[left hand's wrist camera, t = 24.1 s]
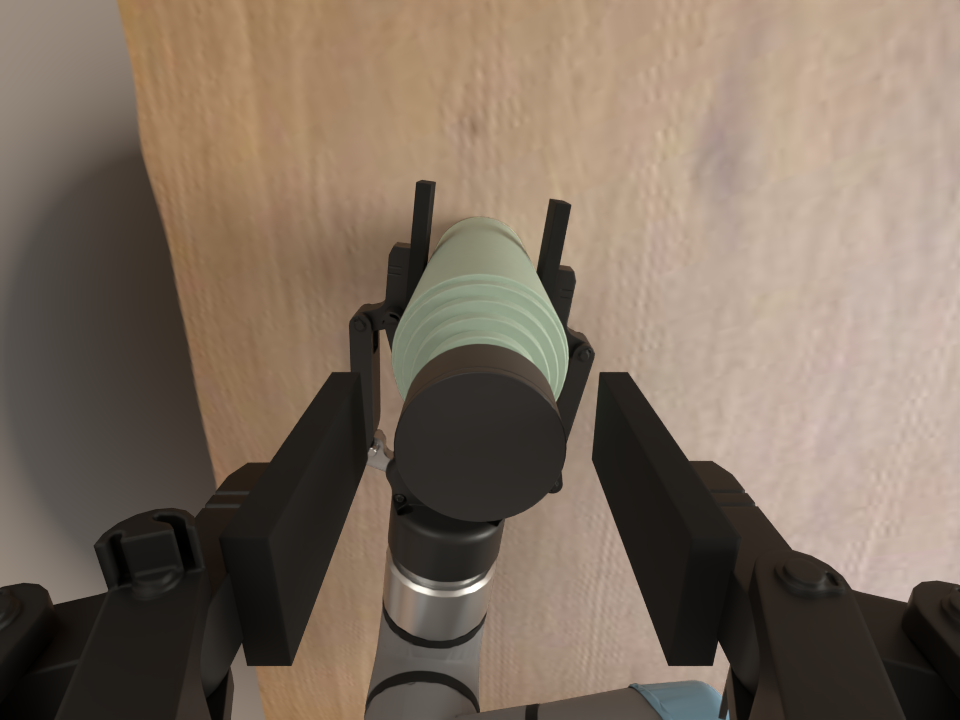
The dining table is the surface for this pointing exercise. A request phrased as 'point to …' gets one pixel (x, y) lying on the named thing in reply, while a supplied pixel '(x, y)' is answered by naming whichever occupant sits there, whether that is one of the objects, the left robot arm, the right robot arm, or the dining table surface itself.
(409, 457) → the cap
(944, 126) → the dining table surface
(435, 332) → the bottle
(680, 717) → the right robot arm
